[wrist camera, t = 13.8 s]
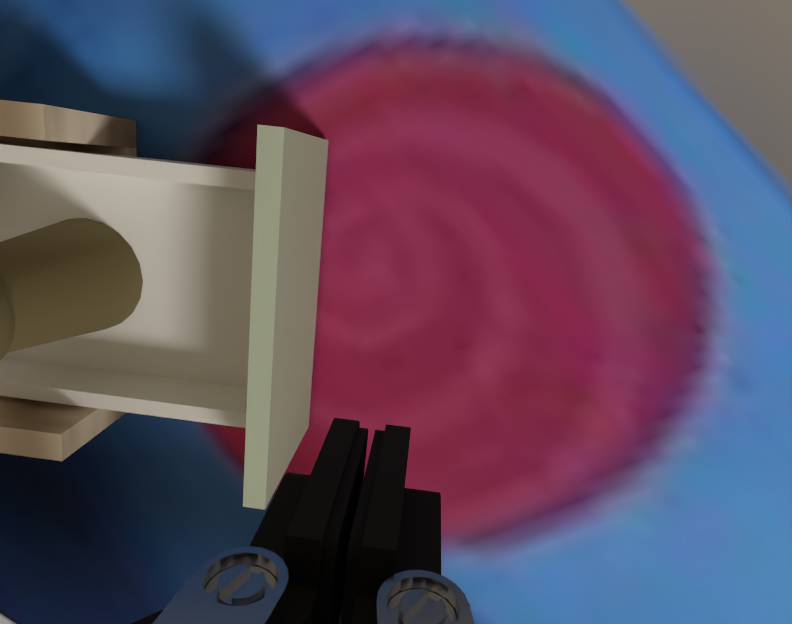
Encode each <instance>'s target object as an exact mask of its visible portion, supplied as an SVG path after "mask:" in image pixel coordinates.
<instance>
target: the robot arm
mask: <svg viewBox="0 0 792 624" xmlns="http://www.w3.org/2000/svg"><path fill="white" fill-rule="evenodd" d="M359 424H360V423H359V421H355V420H347V419H339V418H334V420H333V422H332V424H331V427H330V429H329V432H328V434H327V436H326V439H325V441H324V444H323V446H322V448H321V451H320V453H319V456H318V458H317V461H316V463H315V465H314V468H313V470H312V473H311V475H303V474H296V473H286V475H285V476H284V478H283V480H282V482H281V484H280V486H279V488H278V490H277V492H276V494H275V496H274V498H273V500H272V502H271V504H270V506H269V508H268V510H267V512H266V514H265V516H264V518H263V520H262V522H261V524H260V526H259V528H258V530H257V532H256V534H255V536H254V538H253V540H252V542H251V544H250V546H244V547H234V548H231V549H227V550H224V551H221V552H219V553H217V554H215V555H214V556H212V557H210V558H209V559H207V560H206V561H205V562H204V563H203V564H202V565H201V566H200V567H199V568H198V569H197V570H196V572H195V573H194V574H193V575H192V576H191V578H190V579H189V580H188V581H187V583H186V584H185V585H184V586H183V587H182V589H181V590H180V591H179V592H178V593H177V595H176V596H175V597H174V598H173V599H172V601H171V602H170V603H169V604H168V605H167V607H166V608H165V609H163V610H161V611H159V612H156V613H154V614H152V615H150V616H147V617H145V618H143V619H140V620H138V621H136V622H133V623H131V624H340V622H341V624H474V621H473V617H472V613H471V609H470V605H469V603H468V601H467V598H466V596H465V594H464V593H463V592H462V590H461V589H460V588H459V587H458V586H457V585H456V584H455V583H453V582H452V581H450V580H449V579H448V578H446V577H444V576H442V575H441V495H440V493H438V492H431V491H423V490H416V489H408V488H404V486H405V477H406V468H407V458H408V449H409V440H410V430H411V428H409V427H402V426H394V425H386V428H385V431H381V430H375V434H374V439H373V443H372V447H371V451H370V455H369V459H368V464H367V468H366V472H365V476H364V469H365V459H366V449H367V438H368V429H365V428H359ZM363 479H364V480H363Z"/></svg>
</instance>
